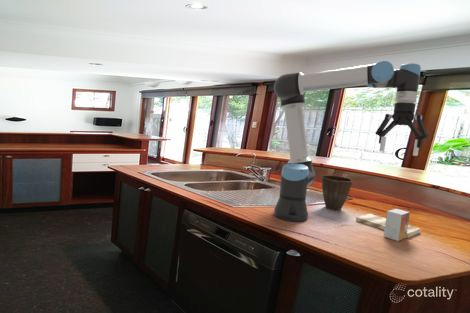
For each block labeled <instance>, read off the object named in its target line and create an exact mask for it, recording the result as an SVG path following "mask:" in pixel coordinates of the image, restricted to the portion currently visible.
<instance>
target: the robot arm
mask: <svg viewBox="0 0 470 313" xmlns="http://www.w3.org/2000/svg"><path fill="white" fill-rule="evenodd" d="M421 67H422V66H421V65H420V64H419V63H414V62H413V63H412V62H411V63H404V64H403V63H402V64H401V65H400V66H399V69H394V65H393V64H392V62H390V61H388V60H380V61H377V62H376V63H372V64H365V65H358V66H353V67H345V68H339V69H331V70H324V71H317V72H311V73H305V74H304V73H303V72H301V71H300V72H292V73H286V74H282V75H280V76H279V77H278V78H277V79H276V80H275V82H274V84H273V91H274V94H275V95H276V98H278V99H280V100H279V101H280V107H281V109H282V110H284V115H285V125H286V126H285V127H286V132H287V141H288V142H287V144H288V149H289V160H288V161H287V163H286V164H283V165H282V168H281V176H280V187H279V197H278V200H277V202H276V206H274V209H273V215H274V217H276V218H278V219H281V220H284V221H288V222H305V221H307V220H309V212H308V208H307V203H306V201H307V200H306V199H307V198H306V197H307V192H308V191H307V189H308V188H309V187H311V185H312V184H313V183H314V181H315V179H316V171H315V169H314V167H313V160H312V159H311V158H310V157H309V154H308V146H307V135H306V127H305V119H304V118H305V117H304V107H305V105H306V100H305V99H306V93H309V92H317V91H319V92H320V91H325V90H333V89H335V90H336V89H343V88H351V87H358V86H366V87H367V88H374V89H376V88H377V89H386V88H387V89H396V93H395V94H396V95H395V100H394V101H395V103H394V108H393V114H390V113H385V117H384V119H383V120H382V122H381V124H380V125H379V126H378V128H377V130H376V131H375V135H376V136H377V135H378V136H379V139H378V144H380V145H379V152H385V147H386V141H387V136H386V135H387V134H389V133H390V131H391V130H393V129H394V128H395V127H396V126H397V125H398V126H407V127H408V128H409V129H410V130H411V132H412V133H413V135H414V136H415V138H416V139H415V140H414V144H413V152H412V156H414V157H417V156H419V155H418V154H419V150H420V148H422V146H423V141H424V140H427V139H429V138H430V136H429V133H428V131H427V129H426V126H425V123H424V121H423V115H422V114H416V115H415V112H416V111H415V109H416V102H417V98H418V97H417V96H418V91H419V86H420V79H421ZM392 119H393V120H392ZM390 120H392V121H391V122H390ZM413 120H415V121H416V123H417V125H418V128H419V129H418V128H417V127H416V125H415V124H414V122H413ZM389 122H390V123H389ZM388 123H389V124H388ZM387 125H388V126H387ZM419 130H420V131H419Z"/></svg>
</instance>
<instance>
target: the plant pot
mask: <svg viewBox="0 0 470 313" xmlns="http://www.w3.org/2000/svg"><path fill="white" fill-rule="evenodd" d="M353 182H354V181H353V179H351V178H348V177H344V176H338V175H327V174H326V175H322V176H321V189H322V195H323V201H324V205H325V208H326V209H328V210H331V211H341V210H342V208H343V206H344V204H345V203H346V200H347V198H348V196H349V193H350V191H351V188H352V184H353Z"/></svg>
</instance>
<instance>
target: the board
mask: <svg viewBox="0 0 470 313" xmlns="http://www.w3.org/2000/svg"><path fill="white" fill-rule="evenodd" d="M355 221H356V222H359V223H361V224H365V225H368V226H370V227H374V228H377V229H379V230H383V231H384V230H385V223H386V217H383V216H379V215H376V214H373V213H366V214H362V215H358V216H356V217H355ZM420 232H421V228H420V227H417V226H414V225H411V224H410V225H409V224H408V229H407V235H406V238H407V239H409V238H411V237H413V236H415V235H418V234H420Z"/></svg>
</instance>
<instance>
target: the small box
mask: <svg viewBox="0 0 470 313" xmlns="http://www.w3.org/2000/svg"><path fill="white" fill-rule="evenodd" d="M410 213H411V212H410V211H407V210H402V209H398V208H394V209H390V210H387V211H386V217H385V218H386V223H385V230H383V231H384V232H383V237H384V238H388V239H390V240H393V241H397V242H400V241H401V240H404V239H406V238H407V237H406V235H407V229H408V225H409V221H410Z"/></svg>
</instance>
